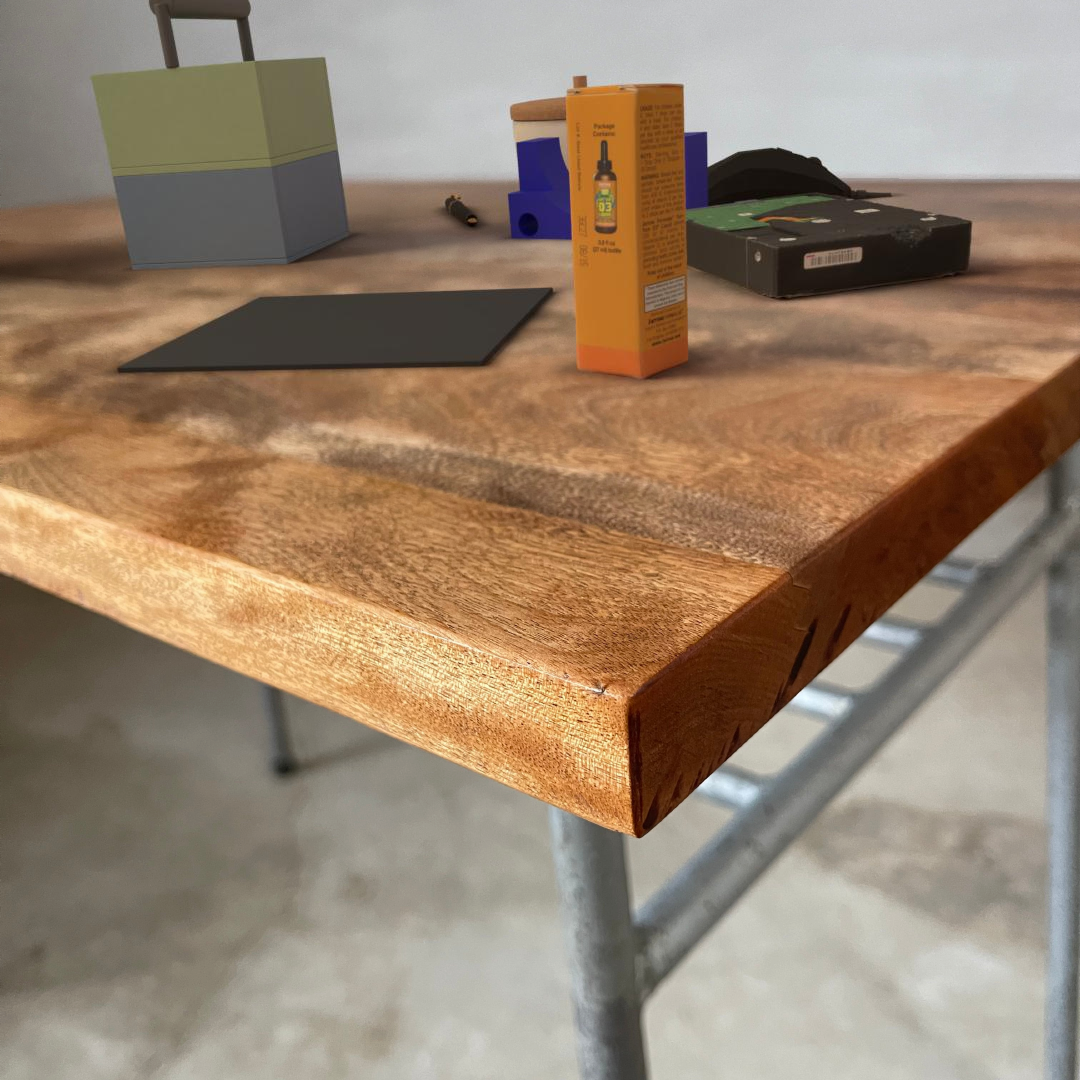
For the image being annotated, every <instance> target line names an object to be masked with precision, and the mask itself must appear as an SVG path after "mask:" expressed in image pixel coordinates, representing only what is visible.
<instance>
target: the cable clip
mask: <svg viewBox="0 0 1080 1080" xmlns="http://www.w3.org/2000/svg"><path fill="white" fill-rule="evenodd" d="M684 138H685V188H686V191H685V196H686V209H694V208H702V207H708V167H709V163H708V161H709V160H708V158H709V157H708V155H709V153H708V131H688V132H687V131H684ZM516 148H517V154H516V158H517V173H518V184H519V190H517V191H513V192H510V193H507V202H508V214H509V225H510V227H509V228H510V238H511V240H512V239H514V240H515V239H518V240H572V225H571V202H570V179H569V171H568V169H567V167H566V165H565V162H564V159H563V156H562V153H561V148H560V140H559V137H547V138H536V139H531V140H526V141H521V142H516Z"/></svg>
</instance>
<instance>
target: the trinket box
mask: <svg viewBox="0 0 1080 1080" xmlns="http://www.w3.org/2000/svg"><path fill="white" fill-rule="evenodd" d="M572 85H573V88H584V87H588V75H585V74H584V75H574V76H572ZM573 88H572V89H573ZM509 114H510V115H509V116H510V120H512V132H513V141H514V148H515V153H516V155H517V148H516V142H521V141H526V140H531V139H536V138H547V137H559V140H560V148H561V153H562V156H563V159H564V162H565V165H566V167H567V169H568V171H569V157H568V138H567V119H566V96H559V97H551V98H541V99H534V100H528V101H523V102H517V103H514V104H511V105H510V106H509Z"/></svg>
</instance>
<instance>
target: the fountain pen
mask: <svg viewBox="0 0 1080 1080" xmlns="http://www.w3.org/2000/svg"><path fill="white" fill-rule="evenodd" d="M455 197H456V198H455ZM461 199H462V196H460V195H458V194H455V193H451V194H449V197H448V198H446V199H445V201H444V206H445V209H446V211H448V212H449V214H451V215H452V216H453V217H455V218H457V219H458V220H459V221H460V222H463V223H464V224H466V225H468V226H470V227H474V226H476V225H477V223H478V216H476V215H475V214H474V213H473V212H472V211H471V209H469V208H468V207H467V206H466V205H465V204H464V203H463V202H462V201H461Z"/></svg>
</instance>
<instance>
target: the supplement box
mask: <svg viewBox="0 0 1080 1080" xmlns="http://www.w3.org/2000/svg"><path fill="white" fill-rule="evenodd" d="M565 92H566V94H565V97H566V119H567V138H568V157H569V179H570V202H571V225H572V239H571V243H572V244H571V247H572V248H571V249H572V266H573V267H572V268H573V269H572V270H573V272H572V273H573V291H574V293H573V294H574V315H575V316H574V317H575V340H576V341H575V343H576V345H575V346H576V350H575V352H576V367H577V369H578V371H581V372H582V371H583V372H590V373H597V374H604V375H613V376H619V377H626V378H631V379H637V380H645V379H648V378H650V377H652V376H654V375H657V374H658V373H661V372H664V371H666V370H668V369H671V368H673V367H675V366H678V365H680V364H683V363H685V362H687V361H689V319H688V318H689V315H688V314H689V313H688V312H689V311H688V308H689V307H688V267H687V249H686V196H685V191H686V188H685V138H684V133H685V99H684V98H685V93H684V92H685V84H683V83H670V82H668V83H667V82H666V83H663V82H661V83H660V82H659V83H630V84H629V83H628V84H609V85H597V86H587V87H584V88H568V89H566V90H565Z"/></svg>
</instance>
